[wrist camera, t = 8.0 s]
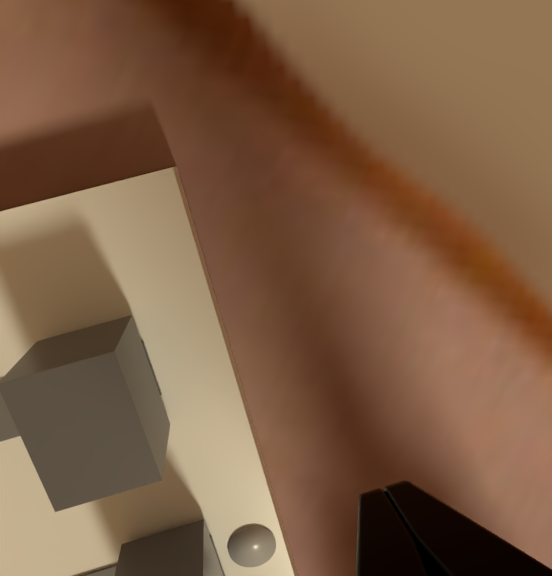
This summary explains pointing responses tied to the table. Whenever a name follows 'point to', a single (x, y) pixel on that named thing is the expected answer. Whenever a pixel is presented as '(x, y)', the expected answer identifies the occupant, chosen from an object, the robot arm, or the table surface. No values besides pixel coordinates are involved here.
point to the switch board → (166, 370)
